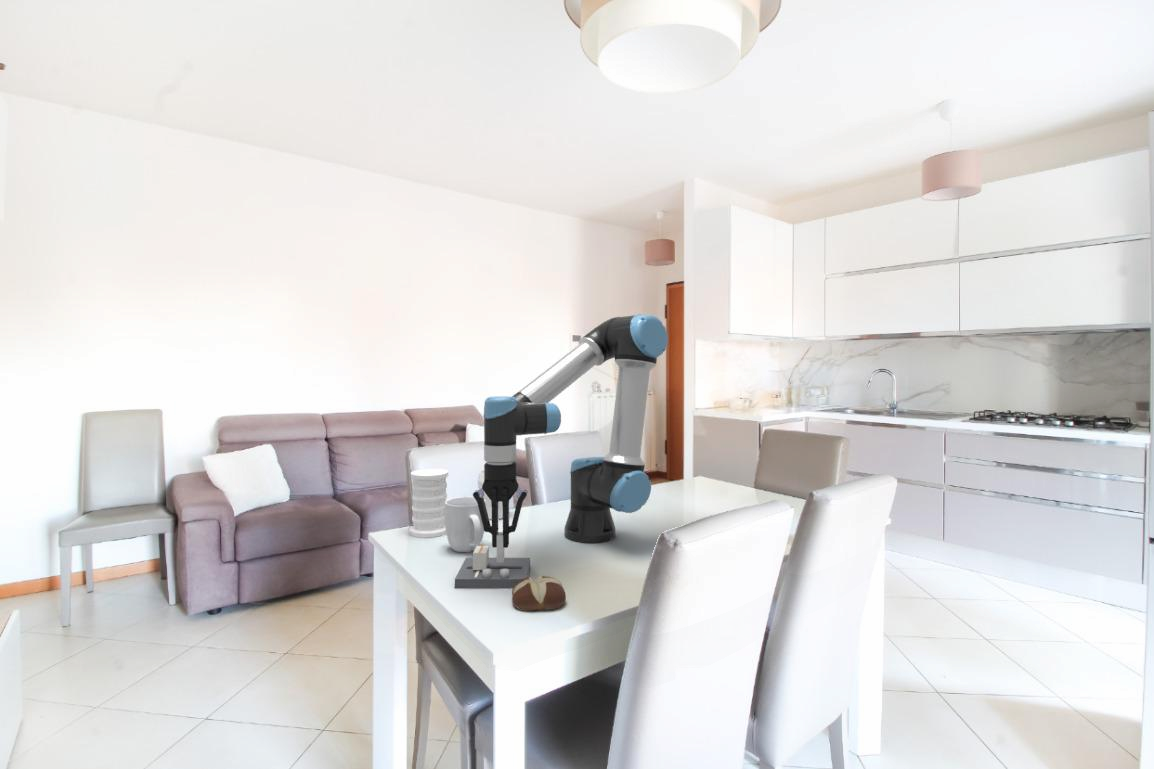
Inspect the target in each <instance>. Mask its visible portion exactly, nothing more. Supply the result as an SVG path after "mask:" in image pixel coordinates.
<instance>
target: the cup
mask: <svg viewBox="0 0 1154 769" xmlns="http://www.w3.org/2000/svg"><path fill="white" fill-rule="evenodd" d="M483 483H484V469H482V470H480V471H479V472H478V476H477V487H478V490H479V489H480V488H482V485H483ZM483 498H484V499H485V501H486V509H487V513H488V517H489V520H492V506H491V500H490V499H489V497H488V496H487V495H486V493H485V492H484V497H483ZM500 519H503V506H502V502H501V501H499V502H498V520H500Z"/></svg>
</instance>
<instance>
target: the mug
mask: <svg viewBox="0 0 1154 769" xmlns="http://www.w3.org/2000/svg"><path fill="white" fill-rule="evenodd" d="M484 501H485V499H484ZM485 505H486V501H485ZM445 529H446V534H445V535H446V537H447V538H446V539H447V541H448V543H449V546H450V547H451V549H452V551H455V552H457V553H469V552H474V550H475V548H476V546H481V543H482V540H483V538H484V534H485V531H484V528H483V524H482V520H481V516H480V511H479V507H478V503H477V501H476V500H475V498H474V497H473V496H457V497H451V498H449V499H446V501H445Z"/></svg>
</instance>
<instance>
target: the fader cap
mask: <svg viewBox="0 0 1154 769" xmlns="http://www.w3.org/2000/svg"><path fill="white" fill-rule="evenodd" d="M472 552H473V553H472V558H473V570H483V569H486V568H487V566H488V563H489V558H490V546H489V545H479V546H476V548H475V550H474V551H472Z"/></svg>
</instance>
